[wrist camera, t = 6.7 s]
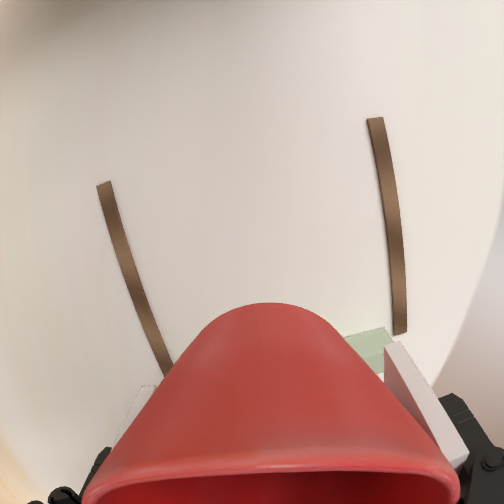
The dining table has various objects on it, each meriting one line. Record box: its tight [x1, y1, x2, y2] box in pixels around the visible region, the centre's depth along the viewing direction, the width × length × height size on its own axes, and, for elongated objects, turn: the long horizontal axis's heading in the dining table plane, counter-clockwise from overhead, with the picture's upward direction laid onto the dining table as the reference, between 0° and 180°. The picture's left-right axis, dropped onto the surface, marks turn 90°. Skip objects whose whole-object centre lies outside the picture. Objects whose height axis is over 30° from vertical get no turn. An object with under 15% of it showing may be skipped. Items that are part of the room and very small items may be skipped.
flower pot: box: [82, 303, 460, 504], centre depth 10 cm, size 11×11×10 cm
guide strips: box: [96, 117, 407, 377], centre depth 24 cm, size 18×22×1 cm
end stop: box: [344, 327, 394, 374], centre depth 25 cm, size 2×18×4 cm, turn 103°
